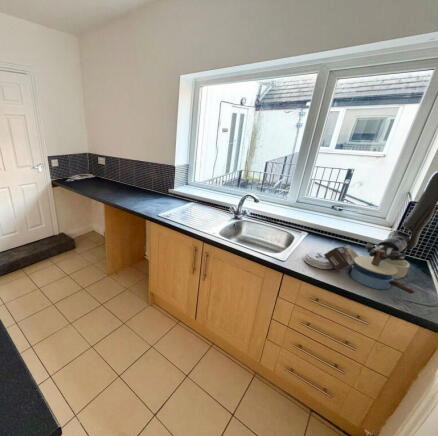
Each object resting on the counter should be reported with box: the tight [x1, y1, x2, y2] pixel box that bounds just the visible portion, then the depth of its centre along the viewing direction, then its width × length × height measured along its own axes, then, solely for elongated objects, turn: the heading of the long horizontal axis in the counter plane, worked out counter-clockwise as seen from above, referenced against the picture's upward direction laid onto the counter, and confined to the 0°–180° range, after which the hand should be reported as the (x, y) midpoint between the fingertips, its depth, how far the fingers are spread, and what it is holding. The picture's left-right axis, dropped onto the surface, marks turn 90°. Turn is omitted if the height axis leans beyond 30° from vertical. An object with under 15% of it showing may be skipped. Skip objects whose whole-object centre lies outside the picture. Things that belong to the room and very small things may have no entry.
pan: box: [350, 264, 415, 294], centre depth 106 cm, size 21×14×4 cm, turn 22°
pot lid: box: [354, 249, 398, 275], centre depth 106 cm, size 15×15×8 cm
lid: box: [303, 250, 334, 270], centre depth 122 cm, size 13×13×5 cm
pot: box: [369, 255, 411, 280], centre depth 116 cm, size 14×14×6 cm
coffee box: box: [324, 244, 359, 272], centre depth 116 cm, size 9×6×16 cm
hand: (376, 256), depth 104 cm, fingers closed on pot lid, 3 cm apart
